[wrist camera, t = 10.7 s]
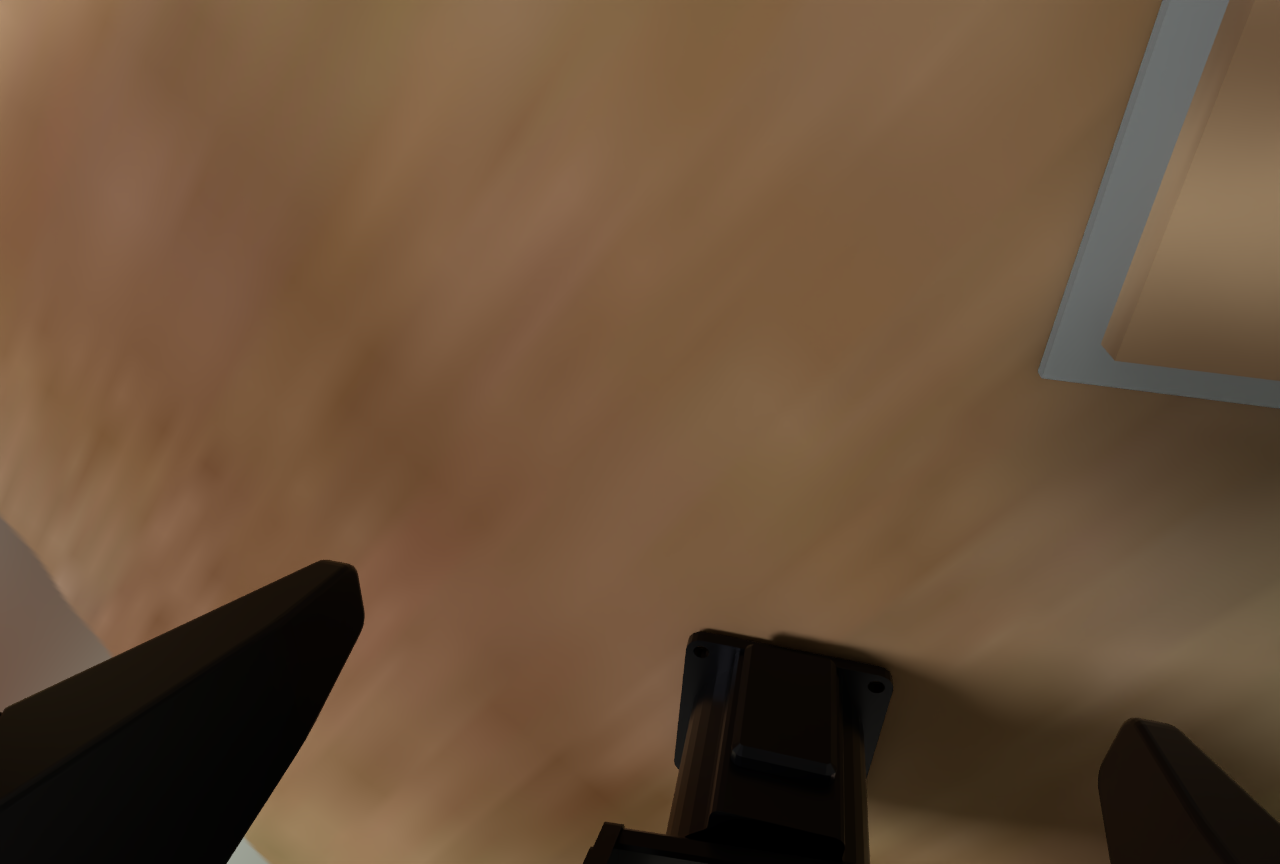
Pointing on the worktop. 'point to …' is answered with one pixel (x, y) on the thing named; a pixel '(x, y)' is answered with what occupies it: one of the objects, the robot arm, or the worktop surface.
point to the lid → (1215, 220)
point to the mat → (1141, 220)
